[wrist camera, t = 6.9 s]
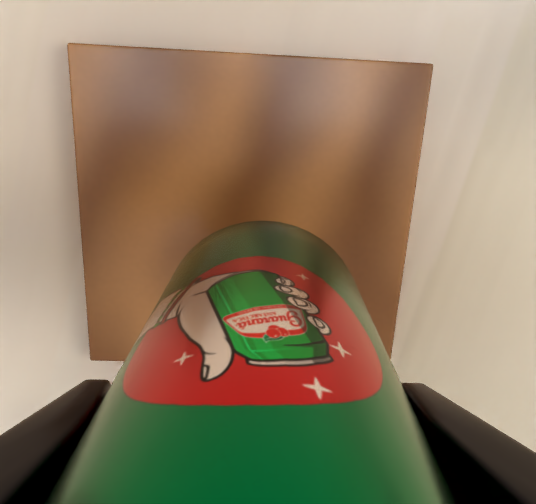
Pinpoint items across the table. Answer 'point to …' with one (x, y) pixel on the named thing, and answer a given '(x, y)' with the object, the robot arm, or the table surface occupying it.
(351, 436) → the soda can
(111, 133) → the cork trivet
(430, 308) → the table surface
